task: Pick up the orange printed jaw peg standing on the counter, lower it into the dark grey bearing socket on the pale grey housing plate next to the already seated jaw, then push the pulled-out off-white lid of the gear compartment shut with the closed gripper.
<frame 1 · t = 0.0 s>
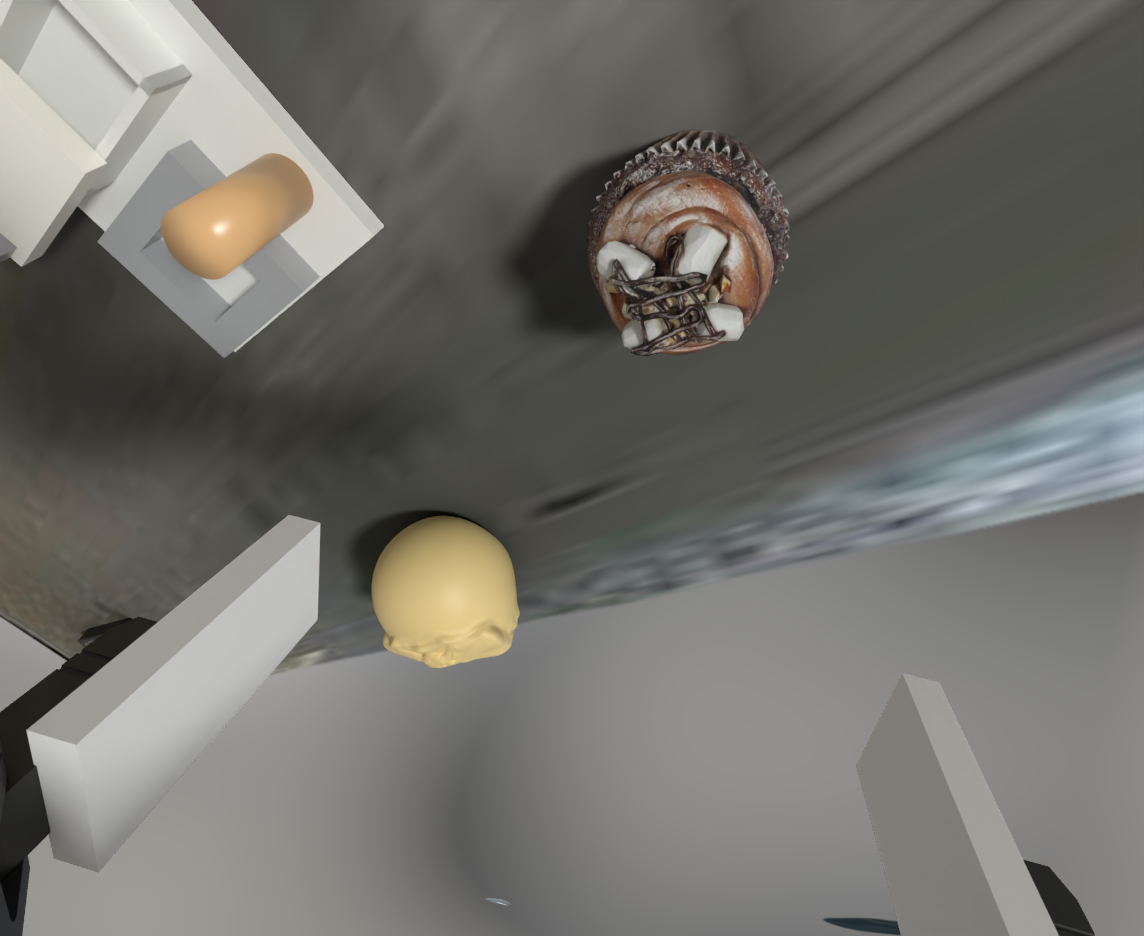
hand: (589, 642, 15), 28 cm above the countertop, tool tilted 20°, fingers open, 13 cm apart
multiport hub: (125, 630, 88), on the countertop
cupcake: (694, 207, 36), on the countertop
housing: (181, 156, 40), on the countertop
sculpture: (466, 545, 60), on the countertop
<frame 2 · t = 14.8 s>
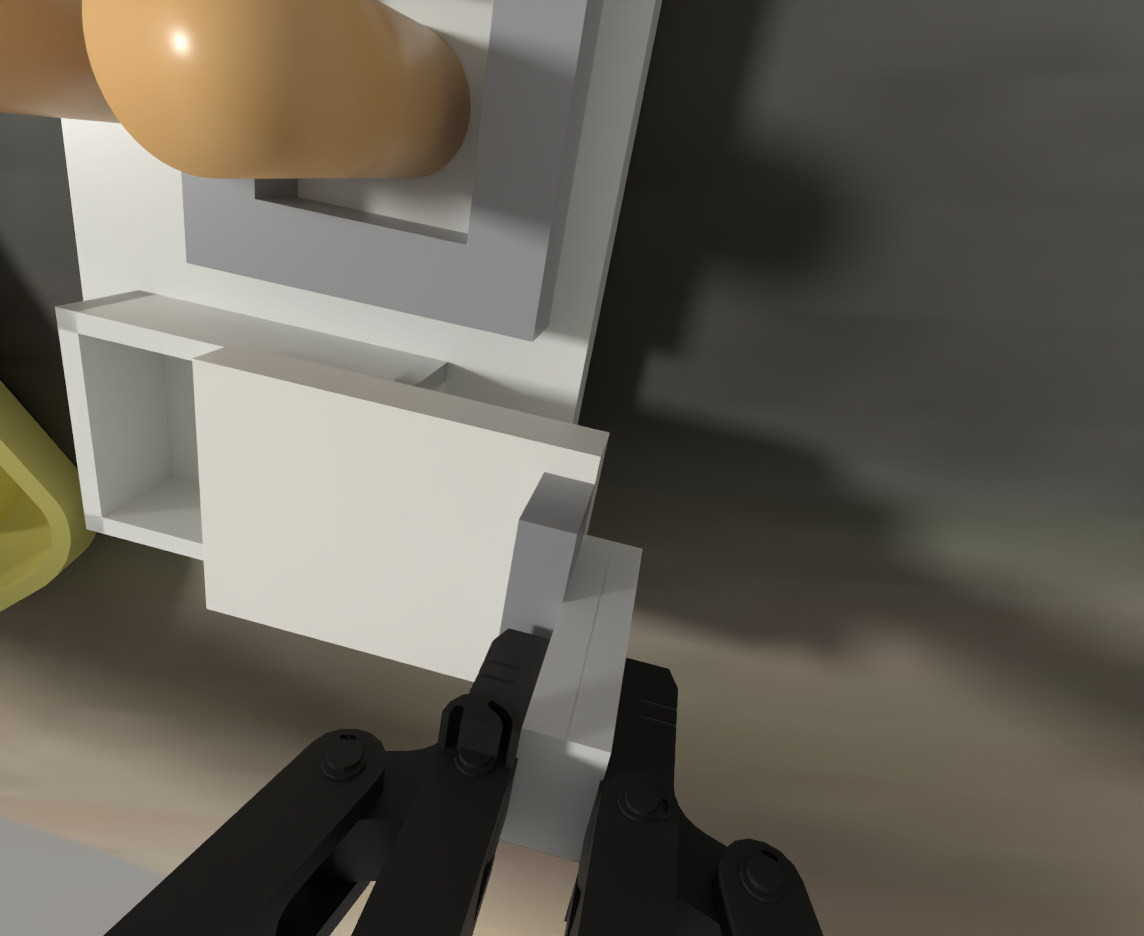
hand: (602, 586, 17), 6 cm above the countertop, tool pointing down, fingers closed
lid: (374, 549, 17), point 7 cm above the countertop, slide at 5.3 cm, touching gripper
jaw peg: (403, 102, 17), point 1 cm above the countertop, touching housing
housing: (347, 275, 21), on the countertop
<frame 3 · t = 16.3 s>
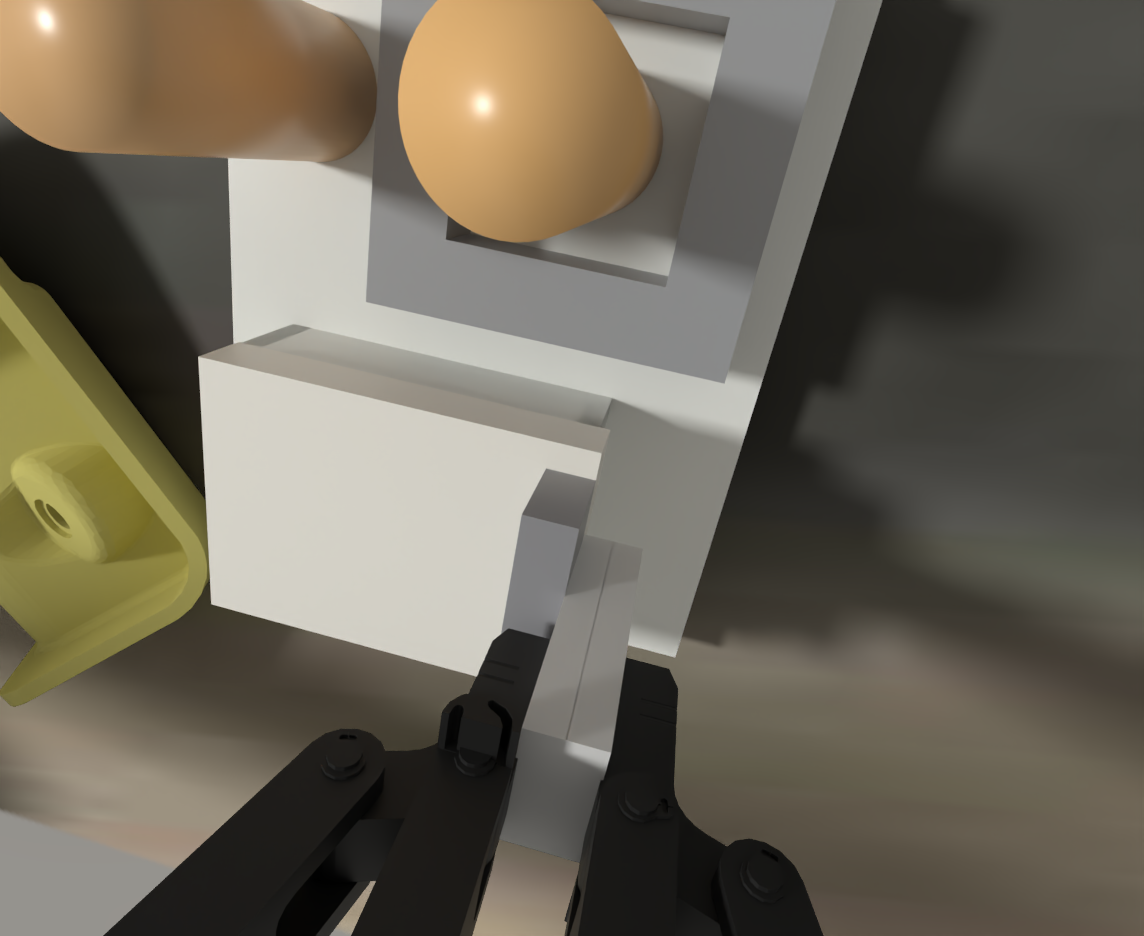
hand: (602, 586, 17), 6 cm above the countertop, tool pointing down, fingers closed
lid: (377, 545, 17), point 7 cm above the countertop, slide at 0.3 cm, touching gripper
jaw peg: (592, 141, 17), point 1 cm above the countertop, touching housing
plastic component: (30, 383, 26), on the countertop
housing: (501, 308, 21), on the countertop
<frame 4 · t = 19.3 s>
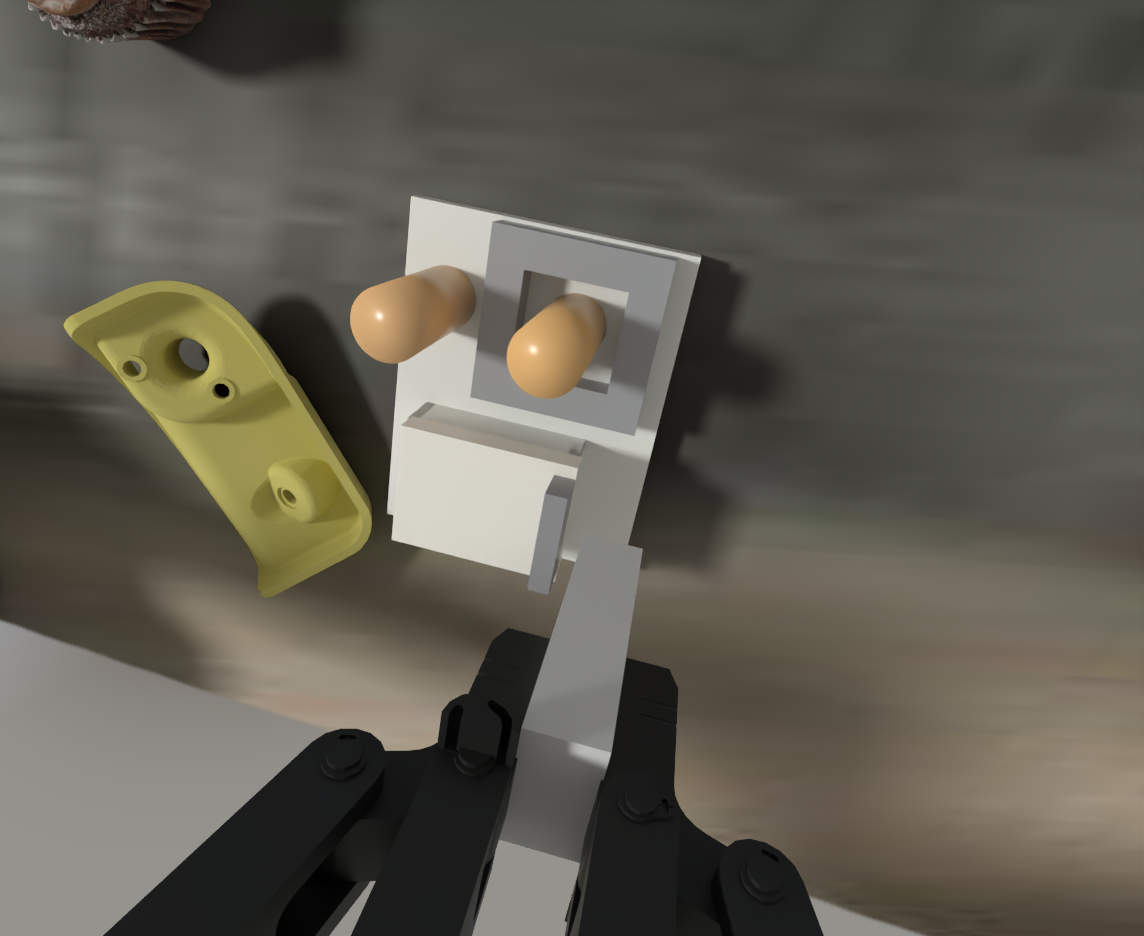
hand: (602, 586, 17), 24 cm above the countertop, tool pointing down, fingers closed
lid: (477, 509, 38), point 7 cm above the countertop, slide at 0.3 cm
jaw peg: (574, 325, 38), point 1 cm above the countertop, touching housing
plastic component: (268, 423, 46), on the countertop
housing: (530, 393, 42), on the countertop
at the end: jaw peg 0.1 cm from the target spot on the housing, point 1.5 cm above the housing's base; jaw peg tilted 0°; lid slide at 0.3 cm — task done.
